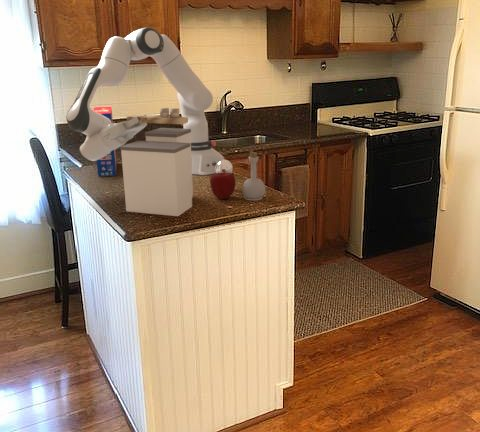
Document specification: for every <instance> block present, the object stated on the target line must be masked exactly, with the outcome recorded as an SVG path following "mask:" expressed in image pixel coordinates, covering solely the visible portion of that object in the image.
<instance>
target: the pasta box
mask: <svg viewBox="0 0 480 432" xmlns="http://www.w3.org/2000/svg"><path fill="white" fill-rule="evenodd" d="M92 110H93V111H95V112H97V113H99V114H102V115H103V116H105V117H107V118H109V119H110V120H111V122H112V123H114V119H113V110H112V106H94V107H93V109H92ZM96 166H97V169H96V170H97V177H111V176H112V177H114V176H117V154H116V149H115V150H112V151H111V152H110V153H109V154H108V155H106V156H104V157H103V158H101V159H99V160H96Z"/></svg>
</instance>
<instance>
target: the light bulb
mask: <svg viewBox="0 0 480 432" xmlns="http://www.w3.org/2000/svg"><path fill="white" fill-rule="evenodd" d="M233 169H234V168H233V164H232V163H231V161H229V160H228V159H225V160H220V161H219V162H218V163H217V164H216V167H215V170H216V173H223V172H227V173H231V174H233ZM216 173H215V174H216Z"/></svg>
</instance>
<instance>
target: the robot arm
mask: <svg viewBox="0 0 480 432" xmlns="http://www.w3.org/2000/svg"><path fill="white" fill-rule="evenodd" d="M149 57H151V58H152V59H153V60H154V61H155V63H156V65H157V66H158V67H159V69H160V71H161V72H162V74H163V75H164V77H165V78H166V81H168V83H169V84H170V85H171V86H173V88H174V89H175V91H177V94H176V95H177V96H176V97H177V98H176V99H177V101H178V104H179V111H180V114H181V117H188V123H185V124H182V126H183V128H182V129H191V132H190V136H191V160H192V175H199V176H207V175H213V174H216V170H215V167H216V164H217V163H218V162H219V161H220V160H226V159H225V156H223V155H222V154H221V153H220V152H218V151H217V150H216V149H214V148H213V147H216V145H217V143H216V141H212V140H209V127H208V126H209V124H208V120H207V118H206V113H205V111H206V110H208V109H209V108H210V107H211V106H212V105H213V101H214V97H213V94H212V92H211V91H210V89H208V88H207V86H206V85H205V84H204V82H203V81H202V80H201V79H200V77H199V76H198V75H197V74H196V73H195V72H194V71H193V69H192V68H191V67H190V65H189V63H188V62H187V61H186V59H185V58H184V56H183V55H182V53H181V51H180V50H179V48H178V47H177V46H176V45H175V43H174V42H173V41H172V40H171V39H170V38H169V36H168V35H166V34H163V33H162V34H160V33H159V32H158V31H157V30H156V29H155V28H153V27H148V26H147V27H141V28H139V29H136V30H134V31H133V32H132V31H131V33H129V34H128V35H126V36H124V37H122V36H113V37H110V38H109V39H108V41H107V42H106V44H105V47H104V48H103V51H102V55H101V58H100V60H99V63H98V65H97V66H96V67H93V68H91V69H90V70H89V72H88V73H87V74H86V75H85V76H86V77H85V78H84V81H83V82H82V84H81V87H80V89H79V90H78V94H77V95H76V97H75V99H74V102H73V104H72V105H71V106H70V108H69V109H68V111H67V112H66V115H65V117H66V122H67V125H68V127H69V128H70V130H73V131H75V132H79V133H82V134H83V135H85V136H86V137H85V140H84V142H83V143H81V145H80V146H79V152H80V154H81V155H82V156H83V157H84V158H85V159H86V160H89V161H91V162H95V161H96V162H97V160H99V159H101V158H103V157H104V156H106V155H108V154H109V153H110V152H111V151H112V150H115V151H116V150H117V149H120V146H123V145H126V143H127V142H128V141H130V140H133V138H134V136H136V135H137V134H138V133H140V131H142V130H144V129H145V128H146V127H147V126H148V123H138V122H139V121H140V119H139V117H135V118H133V119H132V120H129V121H127V120H125V121H121V122H117V123H116V122H113V123H112V122H111V120H110V119H109V118H107V117H105V116H103V115H102V114H99V113H97V112H95V111H93V110H94V109H92V108H91V106H90V104H91V103H92V100H93V99H94V96H95V94H96V91H97V89H98V88H100V87H101V86H103V87H115V86H119V85H121V84H122V83H123V82H124V81H125V80H126V78H127V76H128V72H129V67H130V63H131V62H138V61H141V60H145V59H147V58H149ZM144 116H148V115H147V114H144Z"/></svg>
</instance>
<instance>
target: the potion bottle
mask: <svg viewBox="0 0 480 432" xmlns="http://www.w3.org/2000/svg"><path fill="white" fill-rule="evenodd" d="M259 157H260V156H258V153H257V152H255V151H252V150H250V151H249V156H248V161H249V163H250V178H248V179H245V181H244V183H243V185H242V188H241V192H242V196H243V197H244V200H247V201H251V202H252V201H253V202H255V201H256V202H257V201H261V200H263V199H264V198H263V197H264V196H265V194H266V190H267V189H266V186H265V183H264V182H263V180H262V179H261V178H257V163H258V161H259Z"/></svg>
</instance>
